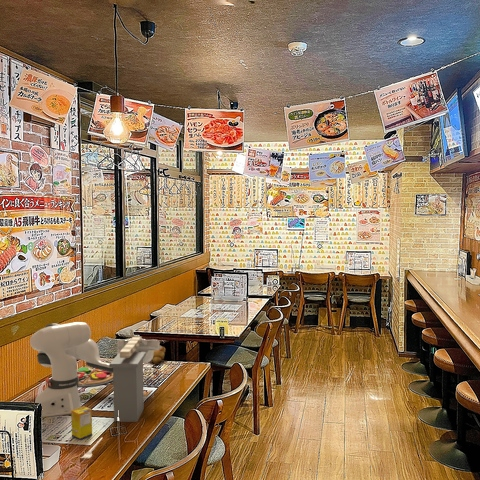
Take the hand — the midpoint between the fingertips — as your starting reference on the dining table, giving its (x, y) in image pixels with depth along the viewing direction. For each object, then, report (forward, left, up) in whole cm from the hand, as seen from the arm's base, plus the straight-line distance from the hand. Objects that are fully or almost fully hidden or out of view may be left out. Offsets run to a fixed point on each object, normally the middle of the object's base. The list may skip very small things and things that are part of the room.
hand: (135, 340), depth 242 cm
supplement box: (-31, -24, -30) cm, 49 cm away
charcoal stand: (-8, -13, -30) cm, 33 cm away
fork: (-29, -38, -30) cm, 57 cm away
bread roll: (+31, +60, -30) cm, 74 cm away
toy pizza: (-11, +47, -31) cm, 57 cm away
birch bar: (-5, -8, -2) cm, 9 cm away
